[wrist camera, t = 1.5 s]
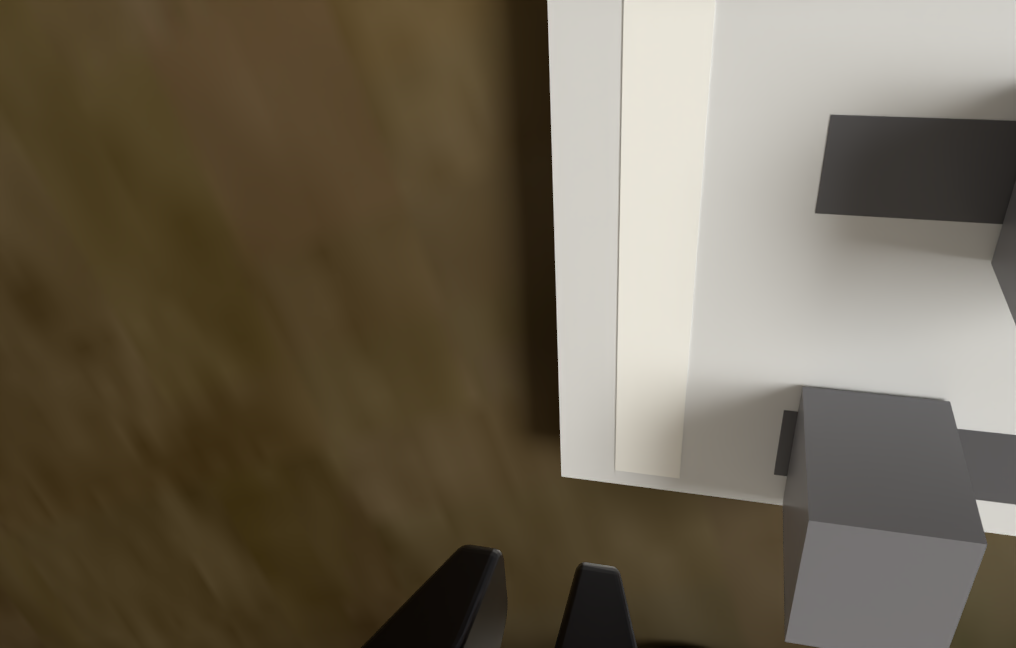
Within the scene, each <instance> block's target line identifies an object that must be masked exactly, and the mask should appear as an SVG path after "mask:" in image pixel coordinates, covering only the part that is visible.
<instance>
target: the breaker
mask: <svg viewBox="0 0 1016 648" xmlns="http://www.w3.org/2000/svg"><path fill="white" fill-rule="evenodd" d="M986 547H987V541H986V537H985V533H984V530H983V526H982V522H981V518H980V514H979V510H978V507H977V503H976V499H975V495H974V491H973V487H972V484H971V480H970V476H969V472H968V468H967V464H966V460H965V457H964V453H963V449H962V445H961V441H960V437H959V434H958V430H957V426H956V422H955V418H954V414H953V411H952V407H951V403H950V401H940V400H930V399H920V398H911V397H901V396H891V395H881V394H871V393H861V392H851V391H841V390H831V389H822V388H812V387H802V392H801V398H800V404H799V410H798V416H797V422H796V427H795V433H794V439H793V445H792V451H791V457H790V462H789V468H788V474H787V480H786V486H785V492H784V498H783V553H784V613H785V642H790V643H796V644H802V645H808V646H814V647H820V648H949V646H950V644H951V641H952V638H953V636H954V633H955V630H956V628H957V625H958V622H959V620H960V617H961V614H962V611H963V609H964V606H965V603H966V601H967V598H968V595H969V593H970V590H971V587H972V585H973V582H974V579H975V576H976V574H977V571H978V568H979V566H980V563H981V560H982V558H983V555H984V552H985V550H986Z"/></svg>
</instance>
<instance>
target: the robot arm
mask: <svg viewBox="0 0 1016 648" xmlns="http://www.w3.org/2000/svg"><path fill="white" fill-rule="evenodd" d="M506 616H507V590H506V579H505V568H504V558H503V555H502V553H501V552H500V551H499V550H497V549H495V548H488V547H482V546H475V545H464V546H462V547H460V548H459V549H458V550H457V551H456V552H455V553H454V554H453V555H452V556H451V557H450V558H449V559H448V560H447V561H446V562H445V563H444V564H443V565H442V566H441V567H440V568H439V569H438V570H437V571H436V572H435V573H434V574H433V575H432V576H431V577H430V578H429V579H428V580H427V581H426V582H425V583H424V584H423V585H422V586H421V587H420V588H419V589H418V590H417V591H416V592H415V593H414V594H413V595H412V596H411V597H410V598H409V599H408V600H407V601H406V602H405V603H404V604H403V605H402V606H401V607H400V608H399V610H398V611H397V612H396V613H395V614H394V615H393V616H392V617H391V618H390V619H389V620H388V621H387V622H386V623H385V624H384V625H383V626H382V627H381V628H380V629H379V630H378V631H377V632H376V633H375V634H374V635H373V636H372V637H371V638H370V639H369V640H368V641H367V642H366V643H365V644H364V645H363V646H362V647H361V648H500V647H501V643H502V638H503V633H504V628H505V623H506ZM555 648H637V645H636V640H635V636H634V632H633V627H632V623H631V619H630V614H629V610H628V605H627V601H626V597H625V592H624V588H623V584H622V579H621V575H620V572H619V571H618V569H616V568H615V567H613V566H606V565H600V564H593V563H586V562H585V563H581V564H579V565H578V567H577V568H576V571H575V575H574V578H573V582H572V586H571V589H570V593H569V597H568V600H567V604H566V608H565V611H564V615H563V619H562V623H561V626H560V630H559V634H558V637H557V641H556V645H555Z"/></svg>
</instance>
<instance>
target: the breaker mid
mask: <svg viewBox="0 0 1016 648" xmlns="http://www.w3.org/2000/svg"><path fill="white" fill-rule="evenodd" d="M991 265H992V267H993V270H994V272H995V275H996V277H997V280H998V282H999V285H1000V287H1001V290H1002V292H1003V295H1004V297H1005V300H1006V302H1007V305H1008V307H1009V310H1010V312H1011V315H1012V317H1013V320H1014V322H1015V325H1016V181H1015V184H1014V188H1013V191H1012V194H1011V198H1010V201H1009V204H1008V208H1007V211H1006V215H1005V218H1004V221H1003V225H1002V228H1001V231H1000V235H999V238H998V242H997V245H996V248H995V252H994V255H993V258H992V262H991Z"/></svg>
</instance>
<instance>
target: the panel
mask: <svg viewBox="0 0 1016 648" xmlns="http://www.w3.org/2000/svg"><path fill="white" fill-rule="evenodd" d="M547 3H548V37H549V71H550V104H551V138H552V172H553V206H554V240H555V274H556V308H557V342H558V376H559V410H560V443H561V476H563V477H570V478H578V479H585V480H593V481H601V482H608V483H616V484H624V485H631V486H639V487H646V488H654V489H662V490H669V491H677V492H684V493H692V494H700V495H707V496H715V497H723V498H730V499H738V500H745V501H753V502H761V503H768V504H776V505H783V498H784V492H785V486H786V480H787V474H788V468H789V462H790V457H791V451H792V445H793V439H794V433H795V427H796V422H797V416H798V410H799V404H800V398H801V392H802V387H812V388H822V389H831V390H841V391H851V392H861V393H871V394H881V395H891V396H901V397H911V398H920V399H930V400H940V401H950V403H951V407H952V411H953V414H954V418H955V422H956V426H957V430H958V434H959V437H960V441H961V445H962V449H963V453H964V457H965V460H966V464H967V468H968V472H969V476H970V480H971V484H972V487H973V491H974V495H975V499H976V503H977V507H978V510H979V514H980V518H981V522H982V526H983V530H984V532H989V533H997V534H1005V535H1012V536H1016V325H1015V322H1014V320H1013V317H1012V315H1011V312H1010V310H1009V307H1008V305H1007V302H1006V300H1005V297H1004V295H1003V292H1002V290H1001V287H1000V285H999V282H998V280H997V277H996V275H995V272H994V270H993V267H992V265H991V262H992V258H993V255H994V252H995V248H996V245H997V242H998V238H999V235H1000V231H1001V228H1002V225H1003V221H1004V218H1005V215H1006V211H1007V208H1008V204H1009V201H1010V198H1011V194H1012V191H1013V188H1014V184H1015V181H1016V0H547Z"/></svg>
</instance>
